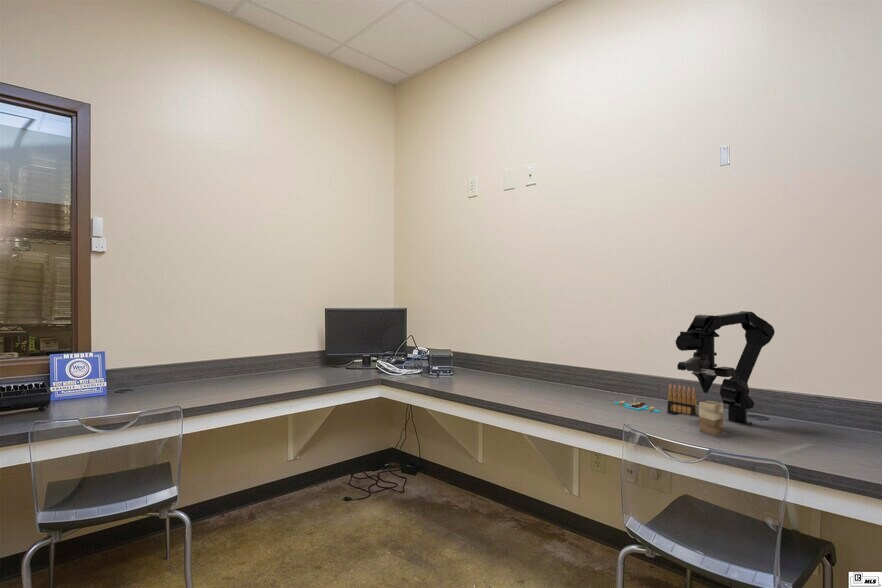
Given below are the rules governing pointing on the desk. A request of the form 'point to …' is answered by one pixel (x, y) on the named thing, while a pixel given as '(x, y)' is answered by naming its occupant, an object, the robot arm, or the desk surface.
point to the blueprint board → (712, 435)
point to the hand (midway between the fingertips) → (705, 392)
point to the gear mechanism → (637, 406)
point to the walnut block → (711, 426)
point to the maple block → (711, 410)
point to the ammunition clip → (682, 401)
